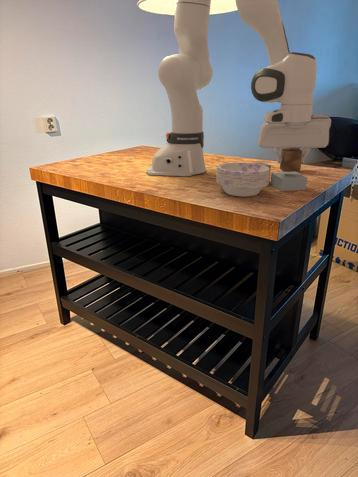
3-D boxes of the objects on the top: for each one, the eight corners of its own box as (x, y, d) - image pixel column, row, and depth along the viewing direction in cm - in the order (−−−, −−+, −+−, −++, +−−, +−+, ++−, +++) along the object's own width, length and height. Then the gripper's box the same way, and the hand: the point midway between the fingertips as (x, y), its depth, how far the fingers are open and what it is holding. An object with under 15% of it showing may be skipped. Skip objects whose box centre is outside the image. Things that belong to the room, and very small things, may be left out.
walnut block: (283, 171, 107) (285, 151, 104) (279, 167, 111) (281, 148, 109) (300, 171, 107) (302, 151, 104) (295, 167, 111) (298, 148, 109)
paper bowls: (266, 186, 112) (268, 161, 108) (269, 201, 98) (271, 172, 95) (217, 185, 114) (218, 160, 111) (214, 199, 100) (214, 171, 97)
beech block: (254, 184, 114) (256, 166, 112) (248, 180, 119) (249, 163, 116) (269, 183, 115) (270, 165, 113) (262, 179, 120) (264, 162, 117)
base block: (280, 191, 107) (282, 178, 105) (270, 185, 114) (271, 172, 113) (305, 190, 108) (307, 177, 107) (293, 183, 115) (295, 171, 114)
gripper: (328, 113, 105) (321, 160, 111) (258, 114, 106) (255, 161, 111) (336, 115, 99) (328, 164, 105) (262, 116, 100) (258, 165, 106)
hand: (290, 162), depth 108 cm, fingers closed on walnut block, 5 cm apart
